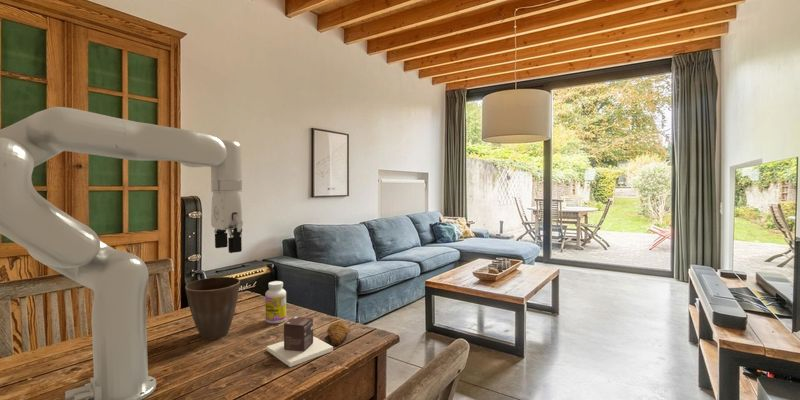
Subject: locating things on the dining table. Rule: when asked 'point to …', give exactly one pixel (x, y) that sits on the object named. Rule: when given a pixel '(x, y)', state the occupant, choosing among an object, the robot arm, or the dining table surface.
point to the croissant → (338, 332)
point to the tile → (299, 352)
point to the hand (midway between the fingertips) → (228, 249)
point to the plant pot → (213, 304)
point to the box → (298, 333)
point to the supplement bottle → (275, 302)
